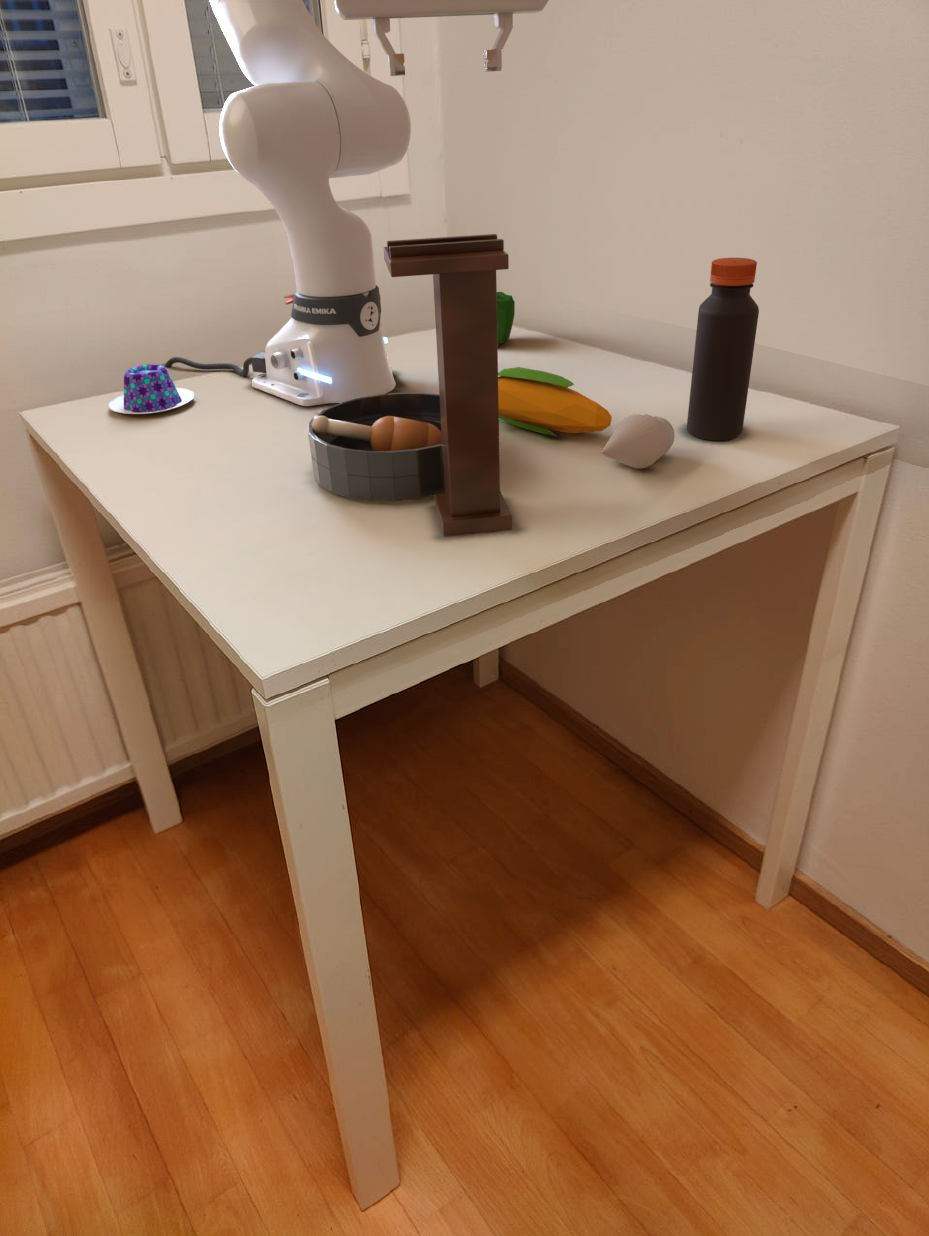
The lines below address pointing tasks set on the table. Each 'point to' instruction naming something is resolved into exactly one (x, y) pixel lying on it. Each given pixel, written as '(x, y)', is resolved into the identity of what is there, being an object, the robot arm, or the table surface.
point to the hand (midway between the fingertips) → (445, 73)
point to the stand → (464, 372)
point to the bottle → (723, 352)
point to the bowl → (378, 472)
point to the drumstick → (383, 432)
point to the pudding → (149, 391)
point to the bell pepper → (504, 316)
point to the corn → (547, 403)
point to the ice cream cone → (640, 440)
